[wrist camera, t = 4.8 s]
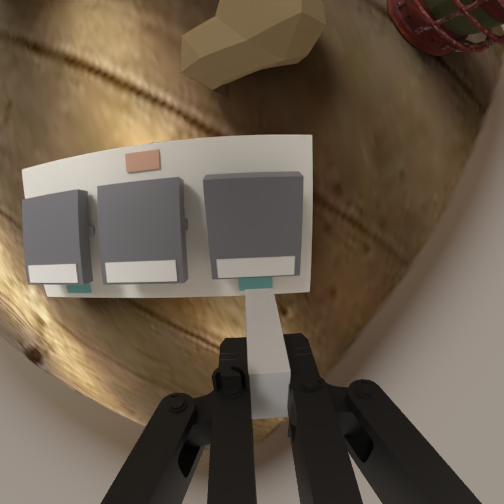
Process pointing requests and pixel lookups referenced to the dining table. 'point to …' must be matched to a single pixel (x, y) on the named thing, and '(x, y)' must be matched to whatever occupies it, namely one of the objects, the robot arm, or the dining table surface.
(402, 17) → the lantern
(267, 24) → the low-poly potato
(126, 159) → the console
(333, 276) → the dining table surface
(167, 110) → the dining table surface
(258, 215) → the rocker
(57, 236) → the rocker
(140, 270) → the rocker middle
